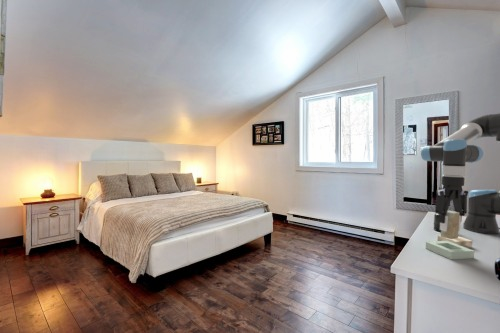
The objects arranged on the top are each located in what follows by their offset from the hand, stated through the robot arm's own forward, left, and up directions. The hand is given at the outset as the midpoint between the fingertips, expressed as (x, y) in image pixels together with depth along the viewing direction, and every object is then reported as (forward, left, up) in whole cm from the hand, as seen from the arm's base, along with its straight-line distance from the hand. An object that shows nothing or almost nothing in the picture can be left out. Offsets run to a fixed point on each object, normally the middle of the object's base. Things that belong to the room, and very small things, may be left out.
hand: (449, 230), depth 108 cm
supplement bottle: (-27, -29, -10) cm, 41 cm away
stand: (-13, -9, -10) cm, 19 cm away
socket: (0, 0, -10) cm, 10 cm away
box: (0, 0, -3) cm, 3 cm away
